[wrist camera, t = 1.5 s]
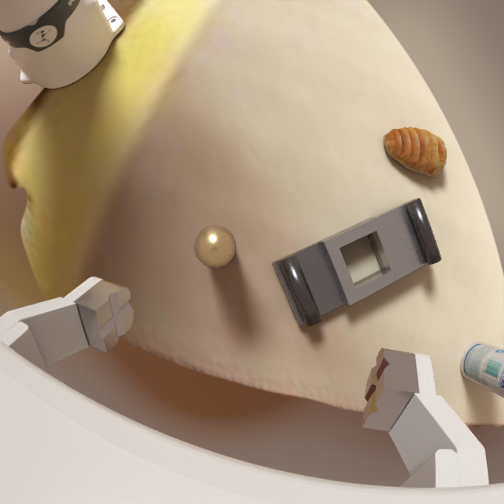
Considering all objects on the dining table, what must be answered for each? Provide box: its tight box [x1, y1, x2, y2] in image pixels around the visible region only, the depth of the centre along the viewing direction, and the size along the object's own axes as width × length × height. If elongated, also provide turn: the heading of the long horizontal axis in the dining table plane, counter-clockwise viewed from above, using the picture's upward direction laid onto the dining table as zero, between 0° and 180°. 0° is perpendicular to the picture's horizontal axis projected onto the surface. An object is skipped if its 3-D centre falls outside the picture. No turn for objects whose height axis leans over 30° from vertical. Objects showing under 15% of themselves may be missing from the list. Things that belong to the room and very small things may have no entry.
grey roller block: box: [272, 198, 441, 326], centre depth 37 cm, size 20×8×5 cm, turn 114°
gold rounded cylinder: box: [194, 226, 236, 267], centre depth 33 cm, size 4×4×10 cm
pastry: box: [384, 127, 447, 178], centre depth 38 cm, size 9×7×4 cm
